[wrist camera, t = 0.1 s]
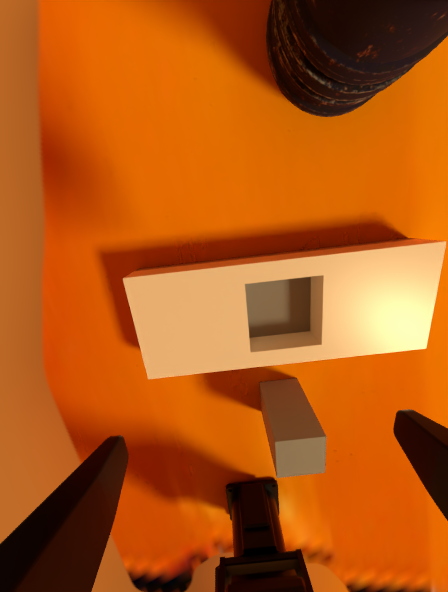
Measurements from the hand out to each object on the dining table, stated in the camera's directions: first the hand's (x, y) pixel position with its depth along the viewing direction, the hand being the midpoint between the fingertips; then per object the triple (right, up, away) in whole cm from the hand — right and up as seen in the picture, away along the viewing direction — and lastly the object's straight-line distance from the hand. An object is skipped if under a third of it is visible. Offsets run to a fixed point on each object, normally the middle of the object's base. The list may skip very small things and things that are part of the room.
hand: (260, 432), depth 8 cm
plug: (+5, -6, +18) cm, 19 cm away
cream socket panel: (+4, +4, +14) cm, 15 cm away
